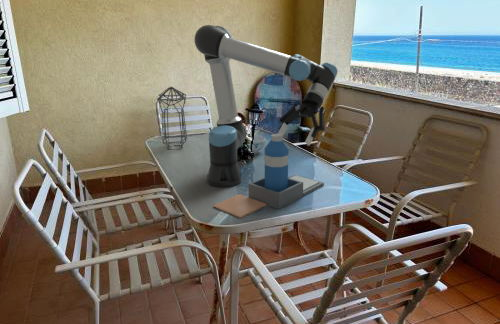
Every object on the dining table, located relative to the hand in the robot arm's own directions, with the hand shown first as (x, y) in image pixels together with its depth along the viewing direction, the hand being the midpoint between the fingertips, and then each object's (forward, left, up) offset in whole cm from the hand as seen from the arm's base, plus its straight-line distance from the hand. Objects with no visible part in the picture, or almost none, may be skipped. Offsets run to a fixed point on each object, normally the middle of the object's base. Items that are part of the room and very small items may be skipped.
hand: (292, 140), depth 140 cm
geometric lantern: (-89, +8, -21) cm, 92 cm away
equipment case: (-1, -1, -21) cm, 21 cm away
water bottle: (-1, -9, -21) cm, 23 cm away
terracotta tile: (-6, -24, -21) cm, 32 cm away
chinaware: (-49, +30, -21) cm, 61 cm away
